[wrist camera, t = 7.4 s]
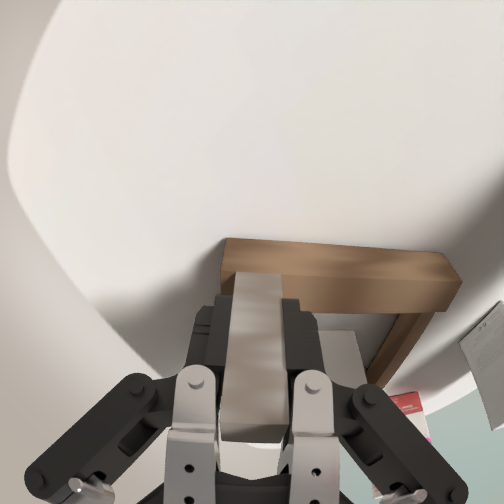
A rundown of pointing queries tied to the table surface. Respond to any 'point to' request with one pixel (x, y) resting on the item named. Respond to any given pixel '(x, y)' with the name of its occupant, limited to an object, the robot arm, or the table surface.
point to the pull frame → (316, 301)
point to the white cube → (342, 357)
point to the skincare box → (488, 363)
